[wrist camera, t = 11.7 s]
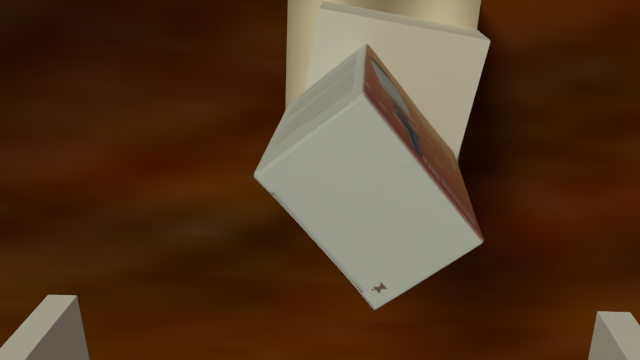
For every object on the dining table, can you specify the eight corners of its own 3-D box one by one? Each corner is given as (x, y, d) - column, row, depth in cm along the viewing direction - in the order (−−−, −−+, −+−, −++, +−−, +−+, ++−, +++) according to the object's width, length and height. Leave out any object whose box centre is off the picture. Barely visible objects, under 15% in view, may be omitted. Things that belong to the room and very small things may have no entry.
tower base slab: (290, 172, 43) (283, 195, 39) (295, -17, 38) (288, -12, 34) (444, 183, 42) (452, 206, 39) (469, -8, 37) (481, -2, 34)
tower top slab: (294, 174, 39) (286, 199, 35) (323, 0, 34) (319, 7, 31) (430, 200, 39) (437, 227, 35) (477, 29, 34) (490, 40, 31)
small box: (455, 152, 33) (490, 246, 23) (374, 207, 35) (376, 316, 25) (366, 38, 31) (365, 88, 21) (285, 102, 33) (249, 177, 23)
